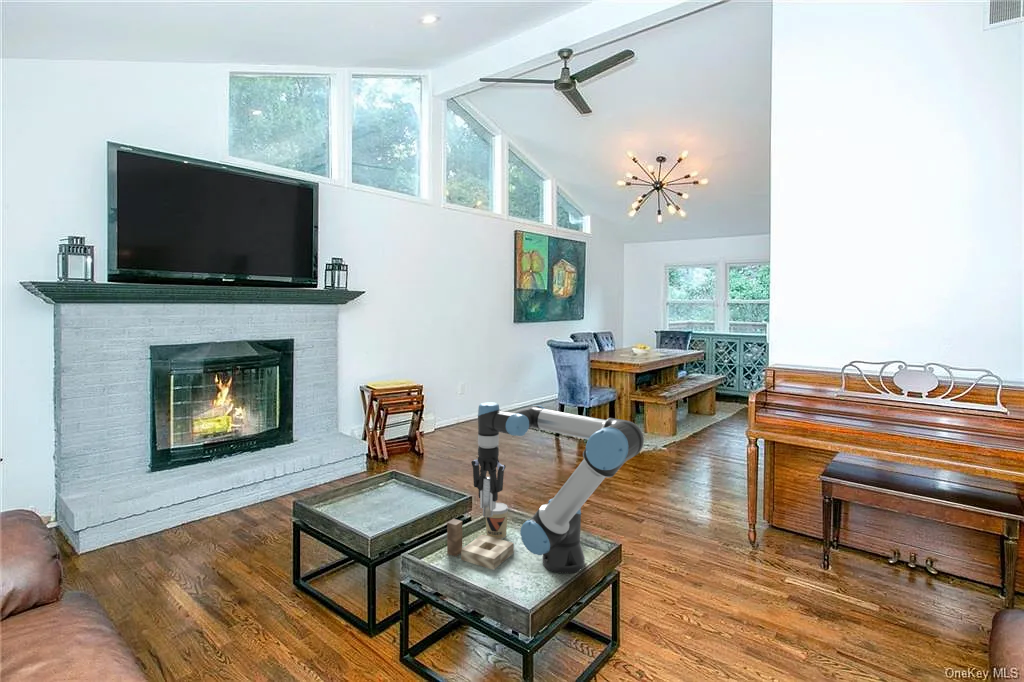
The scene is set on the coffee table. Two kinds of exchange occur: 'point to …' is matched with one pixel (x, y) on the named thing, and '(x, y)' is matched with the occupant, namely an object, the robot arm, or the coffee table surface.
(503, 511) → the coffee cup
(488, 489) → the round peg
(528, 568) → the coffee table surface
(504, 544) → the bore block
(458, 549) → the square peg
